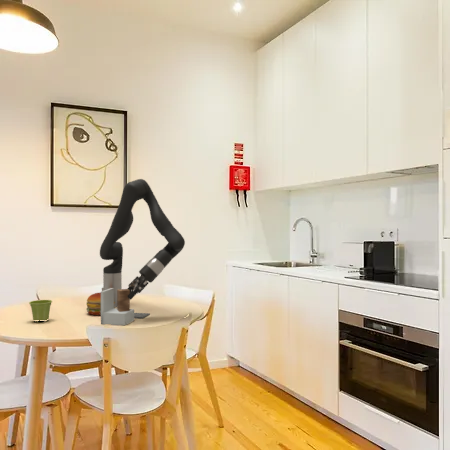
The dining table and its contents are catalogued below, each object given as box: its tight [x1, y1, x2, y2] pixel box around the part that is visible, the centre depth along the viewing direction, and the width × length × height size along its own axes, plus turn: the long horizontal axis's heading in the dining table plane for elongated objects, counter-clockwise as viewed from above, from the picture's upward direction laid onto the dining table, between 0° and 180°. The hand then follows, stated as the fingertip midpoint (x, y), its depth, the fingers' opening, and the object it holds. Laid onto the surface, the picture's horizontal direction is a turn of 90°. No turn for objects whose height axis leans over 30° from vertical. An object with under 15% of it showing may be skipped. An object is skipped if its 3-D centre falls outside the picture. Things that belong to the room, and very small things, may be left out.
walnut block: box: [117, 288, 131, 312], centre depth 197 cm, size 4×4×9 cm
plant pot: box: [28, 299, 53, 321], centre depth 197 cm, size 9×9×9 cm
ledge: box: [100, 288, 135, 326], centre depth 196 cm, size 11×10×14 cm
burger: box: [86, 292, 116, 316], centre depth 214 cm, size 13×14×10 cm
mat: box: [134, 312, 151, 319], centre depth 208 cm, size 9×9×1 cm
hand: (126, 296), depth 196 cm, fingers open, 8 cm apart
